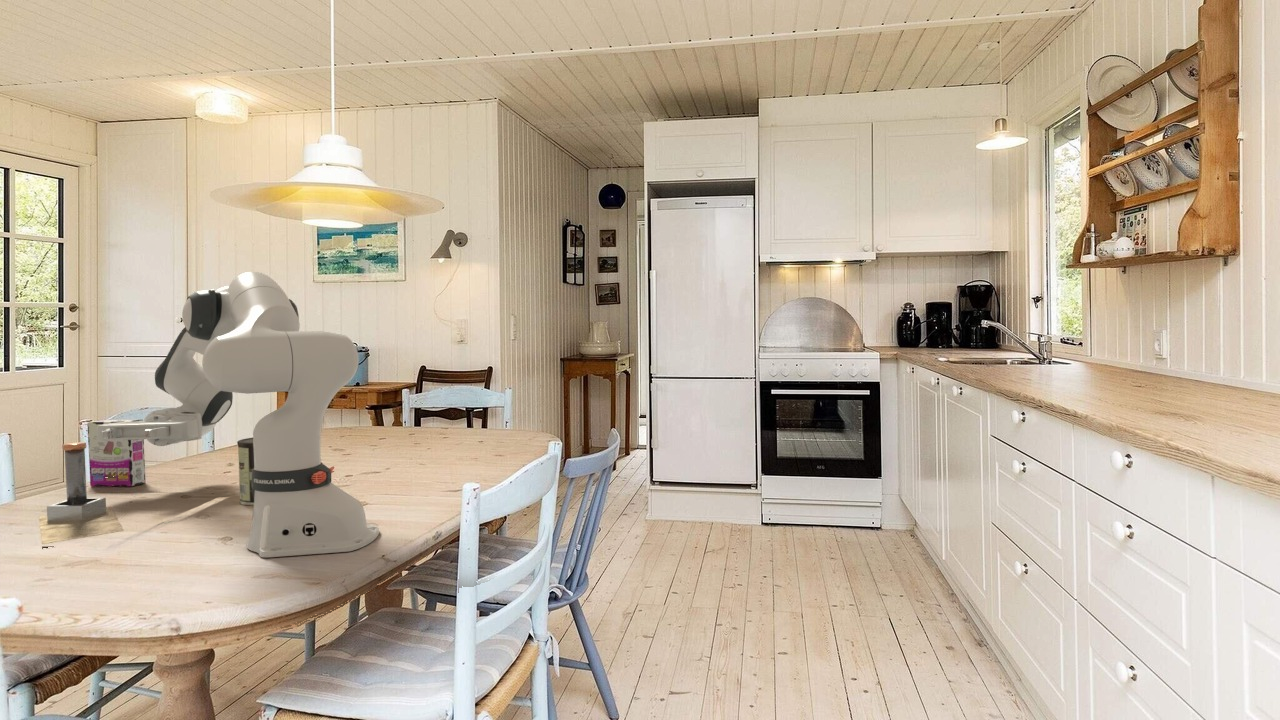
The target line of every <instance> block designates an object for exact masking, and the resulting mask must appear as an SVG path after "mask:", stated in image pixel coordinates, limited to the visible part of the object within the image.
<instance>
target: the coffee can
mask: <svg viewBox="0 0 1280 720" xmlns="http://www.w3.org/2000/svg"><path fill="white" fill-rule="evenodd" d="M237 450H238V451H237V455H238V456H237V457H238V479H239V485H238V486H239V504H241V505H242V506H254V498H253V494H252V469H253V468H254V445H253V437H246V438H242V439H239V440H237Z"/></svg>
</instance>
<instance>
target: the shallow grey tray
mask: <svg viewBox="0 0 1280 720" xmlns="http://www.w3.org/2000/svg"><path fill="white" fill-rule="evenodd" d="M106 507H107V498H106V497H87V503H85V504H82V505H67V499H65V500H63V501H59V502H55V503H53V504H50V505H47V506H46V516H47V521H83V520H85V519H88V518H91V517H93V516H96V515H99V514H101V513H104V512H106Z"/></svg>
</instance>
